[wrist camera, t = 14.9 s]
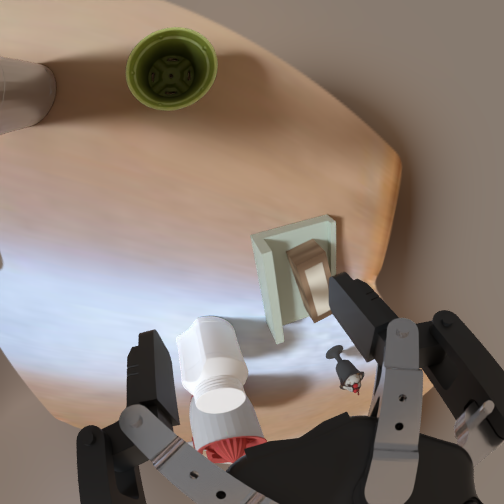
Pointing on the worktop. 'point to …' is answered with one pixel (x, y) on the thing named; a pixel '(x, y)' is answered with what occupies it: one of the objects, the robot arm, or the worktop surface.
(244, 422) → the citrus juicer
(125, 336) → the worktop surface
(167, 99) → the plant pot
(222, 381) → the jar
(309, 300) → the frame
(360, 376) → the sundae
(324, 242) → the ledge
